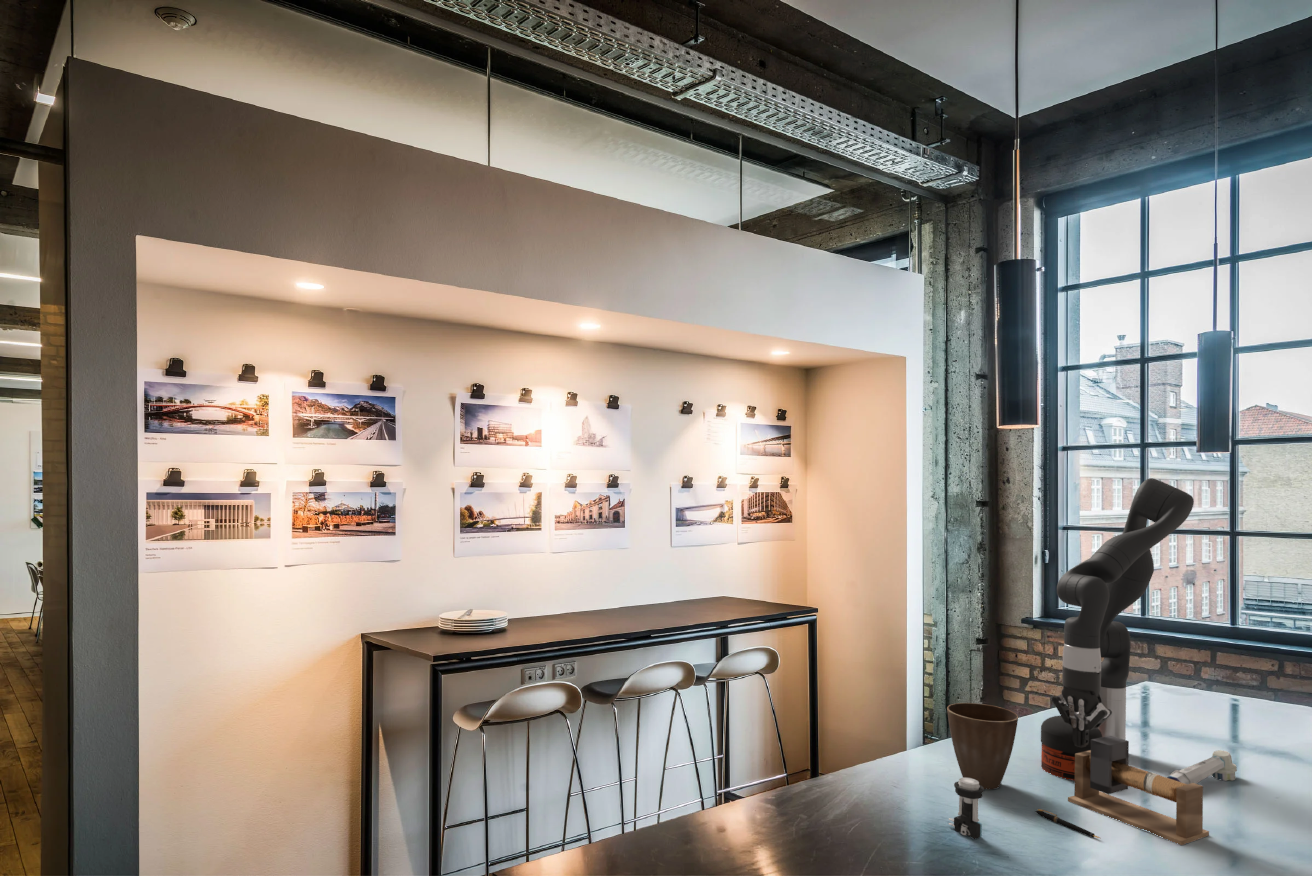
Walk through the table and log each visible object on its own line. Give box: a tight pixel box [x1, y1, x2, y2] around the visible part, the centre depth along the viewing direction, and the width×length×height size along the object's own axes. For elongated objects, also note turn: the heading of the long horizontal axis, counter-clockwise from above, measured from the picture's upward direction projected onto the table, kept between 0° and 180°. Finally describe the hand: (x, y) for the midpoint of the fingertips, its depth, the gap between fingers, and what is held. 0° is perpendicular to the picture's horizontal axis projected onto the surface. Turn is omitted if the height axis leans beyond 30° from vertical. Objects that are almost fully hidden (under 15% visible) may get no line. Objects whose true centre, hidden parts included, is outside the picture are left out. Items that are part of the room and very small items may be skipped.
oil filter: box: [1040, 715, 1102, 782], centre depth 193 cm, size 13×12×13 cm
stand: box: [1067, 750, 1210, 846], centre depth 167 cm, size 23×10×10 cm, turn 30°
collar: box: [1090, 736, 1130, 795], centre depth 172 cm, size 4×7×10 cm, turn 120°
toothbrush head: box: [1166, 749, 1238, 784], centre depth 188 cm, size 5×7×25 cm
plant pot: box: [946, 702, 1019, 790], centre depth 183 cm, size 15×15×16 cm
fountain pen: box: [1034, 808, 1101, 839], centre depth 161 cm, size 14×1×2 cm, turn 29°
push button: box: [948, 777, 985, 840], centre depth 157 cm, size 7×5×10 cm
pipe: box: [1086, 754, 1187, 803], centre depth 167 cm, size 19×4×4 cm, turn 30°
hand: (1080, 746), depth 178 cm, fingers closed
